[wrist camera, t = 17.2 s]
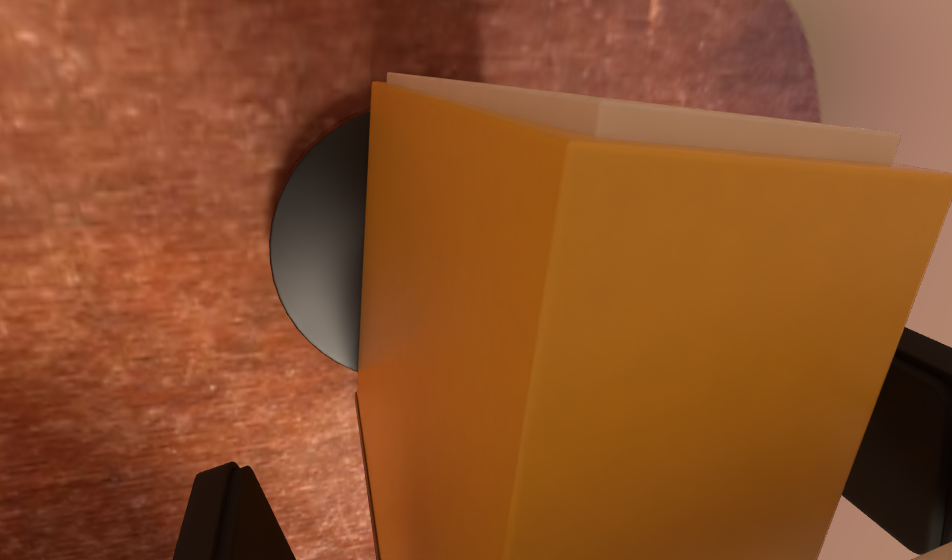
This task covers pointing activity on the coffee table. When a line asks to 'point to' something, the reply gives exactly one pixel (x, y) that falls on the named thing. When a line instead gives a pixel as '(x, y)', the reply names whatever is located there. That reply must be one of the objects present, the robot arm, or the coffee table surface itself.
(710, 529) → the yellow book
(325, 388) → the coffee table surface
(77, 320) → the coffee table surface
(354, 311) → the black disc
